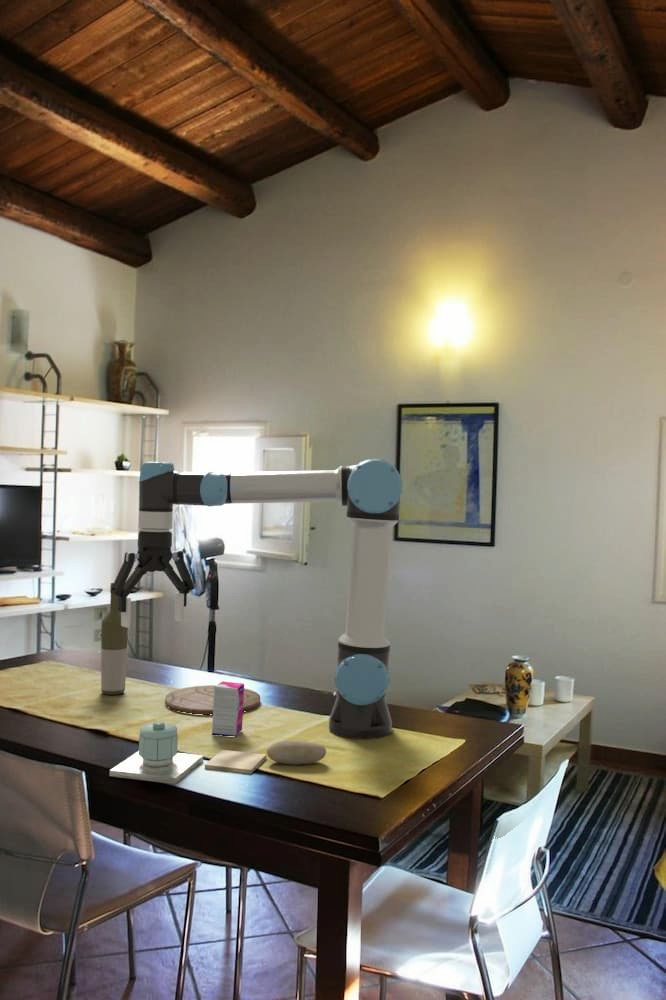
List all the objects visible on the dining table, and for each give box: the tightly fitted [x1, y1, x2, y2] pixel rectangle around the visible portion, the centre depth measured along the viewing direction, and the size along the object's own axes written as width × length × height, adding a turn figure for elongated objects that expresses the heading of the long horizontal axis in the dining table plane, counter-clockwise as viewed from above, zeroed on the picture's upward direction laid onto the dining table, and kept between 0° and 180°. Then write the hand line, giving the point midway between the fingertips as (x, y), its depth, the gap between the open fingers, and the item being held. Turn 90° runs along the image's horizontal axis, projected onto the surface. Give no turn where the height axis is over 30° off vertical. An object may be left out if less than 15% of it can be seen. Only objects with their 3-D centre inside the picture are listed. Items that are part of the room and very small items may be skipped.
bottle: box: [100, 582, 129, 696], centre depth 229 cm, size 7×7×30 cm
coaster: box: [204, 749, 267, 775], centre depth 176 cm, size 10×10×1 cm
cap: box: [138, 721, 179, 760], centre depth 171 cm, size 7×7×6 cm
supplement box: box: [211, 681, 245, 737], centre depth 196 cm, size 6×6×12 cm
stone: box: [266, 740, 327, 765], centre depth 177 cm, size 6×6×12 cm
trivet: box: [164, 684, 261, 715], centre depth 223 cm, size 25×25×2 cm
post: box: [109, 750, 204, 785], centre depth 171 cm, size 14×14×7 cm
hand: (152, 624), depth 190 cm, fingers open, 13 cm apart
